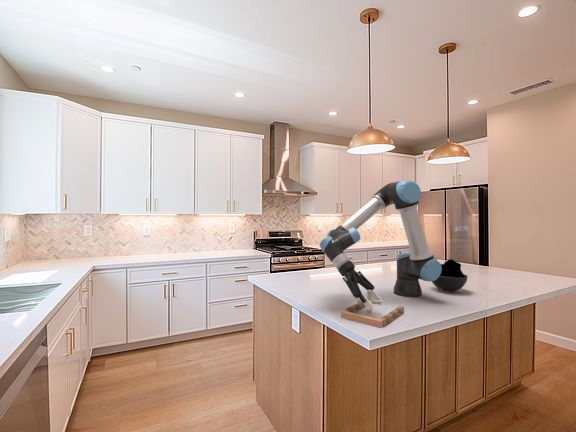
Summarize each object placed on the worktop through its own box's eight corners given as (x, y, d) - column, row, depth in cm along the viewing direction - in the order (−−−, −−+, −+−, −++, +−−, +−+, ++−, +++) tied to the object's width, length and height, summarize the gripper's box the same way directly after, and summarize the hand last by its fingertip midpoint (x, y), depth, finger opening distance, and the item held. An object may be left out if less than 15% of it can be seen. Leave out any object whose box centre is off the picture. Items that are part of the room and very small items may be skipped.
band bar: (343, 316, 129) (343, 310, 129) (382, 326, 118) (382, 320, 118) (340, 317, 128) (340, 311, 128) (380, 327, 116) (380, 321, 116)
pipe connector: (382, 317, 123) (382, 294, 123) (358, 316, 125) (358, 292, 125) (379, 310, 133) (380, 288, 133) (357, 308, 135) (357, 287, 135)
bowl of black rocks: (471, 291, 174) (471, 259, 174) (461, 297, 160) (461, 263, 160) (435, 285, 189) (436, 256, 189) (423, 291, 174) (423, 259, 175)
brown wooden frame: (365, 304, 147) (365, 299, 147) (403, 312, 135) (403, 307, 135) (342, 316, 130) (342, 310, 130) (384, 326, 117) (384, 320, 117)
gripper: (350, 267, 147) (380, 305, 137) (326, 273, 131) (358, 317, 120) (359, 257, 144) (391, 295, 134) (336, 262, 127) (370, 306, 117)
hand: (376, 305), depth 127 cm, fingers closed on pipe connector, 9 cm apart
